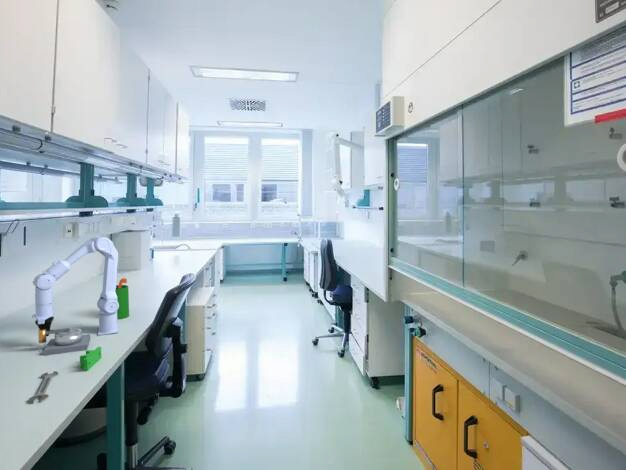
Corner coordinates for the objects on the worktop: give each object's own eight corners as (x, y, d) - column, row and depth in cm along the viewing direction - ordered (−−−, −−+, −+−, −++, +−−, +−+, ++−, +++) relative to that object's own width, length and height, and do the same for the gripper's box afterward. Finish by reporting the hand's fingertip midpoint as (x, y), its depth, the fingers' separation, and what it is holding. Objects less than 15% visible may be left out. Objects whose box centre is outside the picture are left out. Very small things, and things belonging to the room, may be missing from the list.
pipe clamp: (90, 358, 134) (90, 347, 134) (101, 358, 134) (101, 346, 134) (75, 372, 123) (75, 359, 123) (87, 371, 123) (87, 358, 123)
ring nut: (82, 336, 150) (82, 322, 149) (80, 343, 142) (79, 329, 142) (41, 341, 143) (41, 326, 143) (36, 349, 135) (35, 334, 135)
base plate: (50, 343, 147) (50, 339, 146) (90, 338, 153) (90, 334, 153) (44, 355, 135) (43, 350, 135) (87, 349, 142) (87, 344, 141)
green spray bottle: (110, 314, 187) (109, 277, 185) (129, 312, 191) (128, 276, 189) (109, 320, 178) (108, 281, 176) (129, 318, 182) (128, 280, 181)
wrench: (47, 402, 104) (59, 373, 122) (46, 396, 104) (59, 368, 122) (27, 407, 102) (42, 377, 120) (26, 402, 102) (41, 373, 120)
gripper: (35, 300, 148) (37, 331, 149) (27, 309, 135) (28, 343, 136) (56, 298, 151) (57, 329, 152) (50, 307, 138) (51, 341, 139)
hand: (45, 336), depth 144 cm, fingers closed
